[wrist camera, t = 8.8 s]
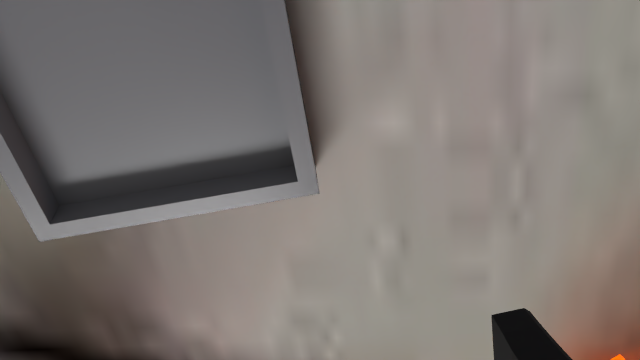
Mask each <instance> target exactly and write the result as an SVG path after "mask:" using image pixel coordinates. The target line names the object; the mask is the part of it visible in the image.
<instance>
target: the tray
mask: <svg viewBox="0 0 640 360" xmlns="http://www.w3.org/2000/svg"><path fill="white" fill-rule="evenodd" d="M0 173H1V175H2V177H3V179H4V180H5V182H6V184H7V186H8V187H9V189H10V191H11V193H12V194H13V196H14V198H15V200H16V202H17V203H18V205H19V207H20V209H21V210H22V212H23V214H24V216H25V217H26V219H27V221H28V223H29V225H30V226H31V228H32V230H33V232H34V233H35V235H36V237H37V239H38V240H39V242H41V241H47V240H53V239H59V238H65V237H70V236H76V235H82V234H88V233H94V232H99V231H105V230H111V229H117V228H123V227H129V226H134V225H140V224H146V223H152V222H158V221H163V220H169V219H175V218H181V217H187V216H192V215H198V214H204V213H210V212H216V211H221V210H227V209H233V208H239V207H245V206H250V205H256V204H262V203H268V202H274V201H280V200H285V199H291V198H297V197H303V196H309V195H314V194H319V187H318V181H317V174H316V168H315V162H314V157H313V151H312V146H311V140H310V135H309V129H308V124H307V118H306V113H305V107H304V102H303V96H302V91H301V85H300V80H299V74H298V69H297V63H296V58H295V52H294V47H293V41H292V36H291V30H290V25H289V19H288V14H287V8H286V3H285V0H0Z"/></svg>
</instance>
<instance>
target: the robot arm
mask: <svg viewBox="0 0 640 360" xmlns="http://www.w3.org/2000/svg"><path fill="white" fill-rule="evenodd" d="M492 331H493V349H494V360H572V359H571V358H570V357H569V356H568V355H567V353H566V352H565V351H564V350H563V349H562V348H561V347H560V346H559V345H558V344H557V343H556V341H555V340H554V339H553V338H552V337H551V336H550V335H549V334H548V332H547V331H546V330H545V329H544V328H543V327H542V325H541V324H540V323H539V322H538V321H537V320H536V318H535V317H534V316H533V315H532V314H531V312H530V311H528V310H526V309H524V308H523V309H518V310H513V311H509V312H504V313H499V314H495V315H492Z"/></svg>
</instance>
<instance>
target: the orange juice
mask: <svg viewBox="0 0 640 360" xmlns="http://www.w3.org/2000/svg"><path fill="white" fill-rule="evenodd" d="M611 360H626V359H624V358H623V357H622V356H621V355H620V354H619V355H618V356H616V357H614V358H612V359H611Z"/></svg>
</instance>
